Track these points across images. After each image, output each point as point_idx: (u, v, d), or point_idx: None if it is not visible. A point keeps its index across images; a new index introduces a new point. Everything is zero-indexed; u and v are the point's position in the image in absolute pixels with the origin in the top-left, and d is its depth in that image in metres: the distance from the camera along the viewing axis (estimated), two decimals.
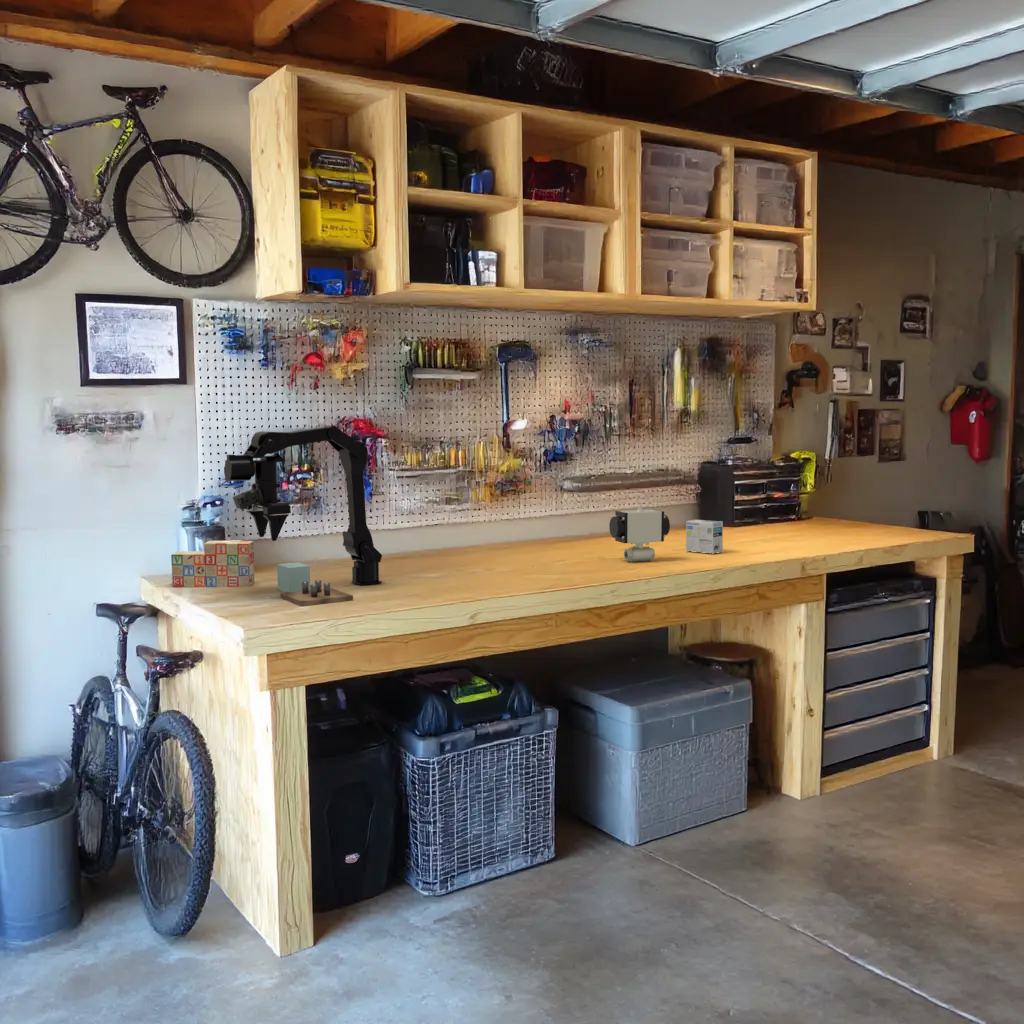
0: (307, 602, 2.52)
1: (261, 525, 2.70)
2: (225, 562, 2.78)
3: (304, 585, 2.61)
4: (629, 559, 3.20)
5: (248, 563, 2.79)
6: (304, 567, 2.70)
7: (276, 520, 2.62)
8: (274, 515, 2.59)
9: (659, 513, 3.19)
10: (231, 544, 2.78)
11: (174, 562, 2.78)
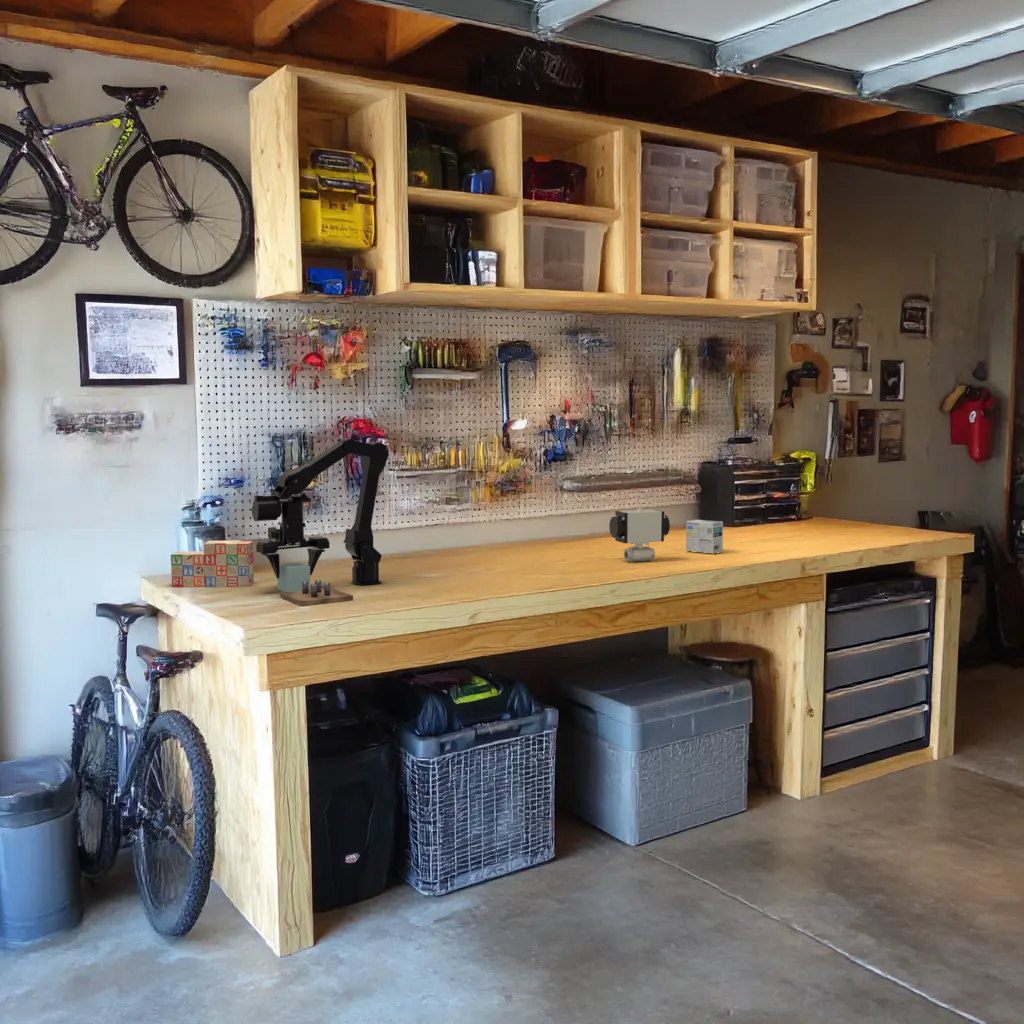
0: (307, 602, 2.52)
1: (310, 563, 2.75)
2: (224, 562, 2.79)
3: (304, 585, 2.61)
4: (629, 559, 3.20)
5: (247, 563, 2.79)
6: (304, 567, 2.70)
7: (273, 559, 2.69)
8: None
9: (659, 513, 3.19)
10: (230, 544, 2.78)
11: (173, 562, 2.78)
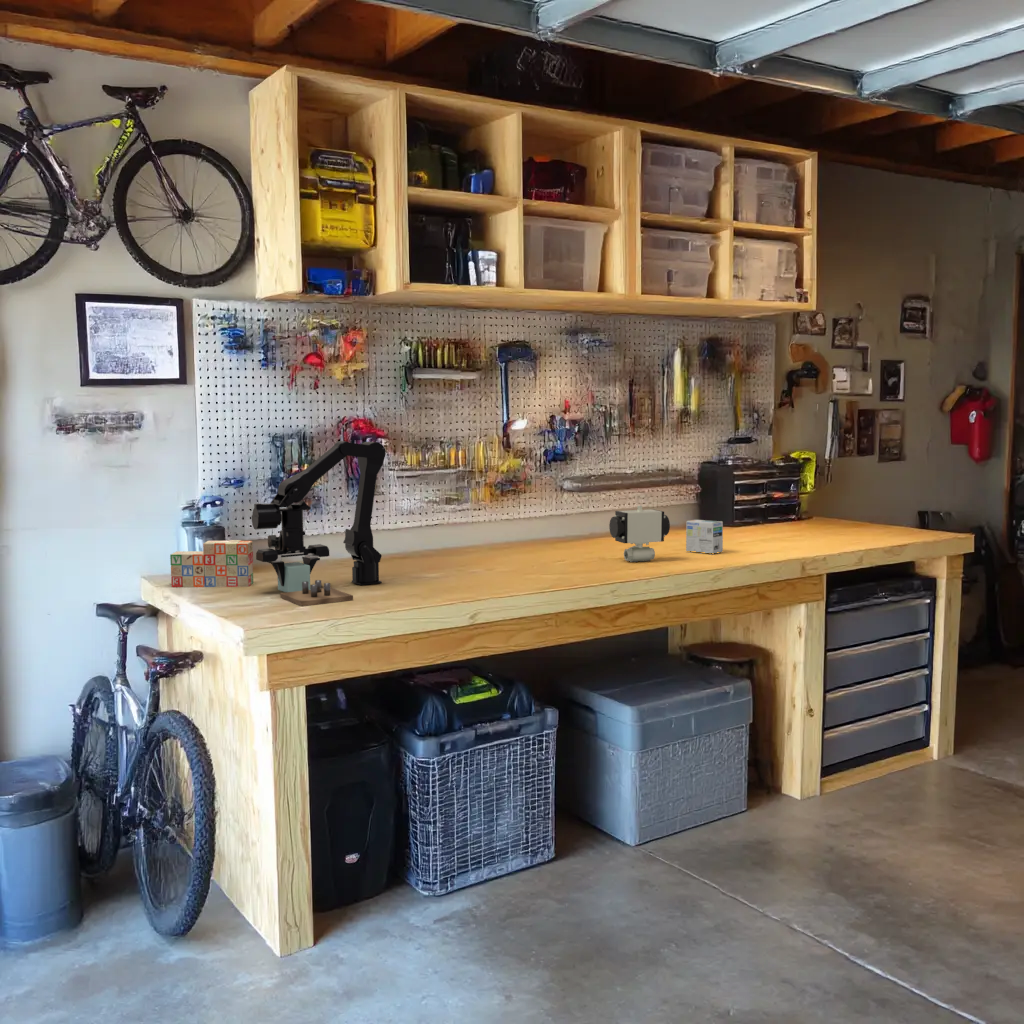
0: (307, 602, 2.52)
1: None
2: (224, 562, 2.79)
3: (304, 585, 2.61)
4: (629, 559, 3.20)
5: (247, 563, 2.79)
6: (304, 567, 2.70)
7: (278, 566, 2.70)
8: None
9: (659, 513, 3.19)
10: (230, 544, 2.78)
11: (173, 562, 2.78)
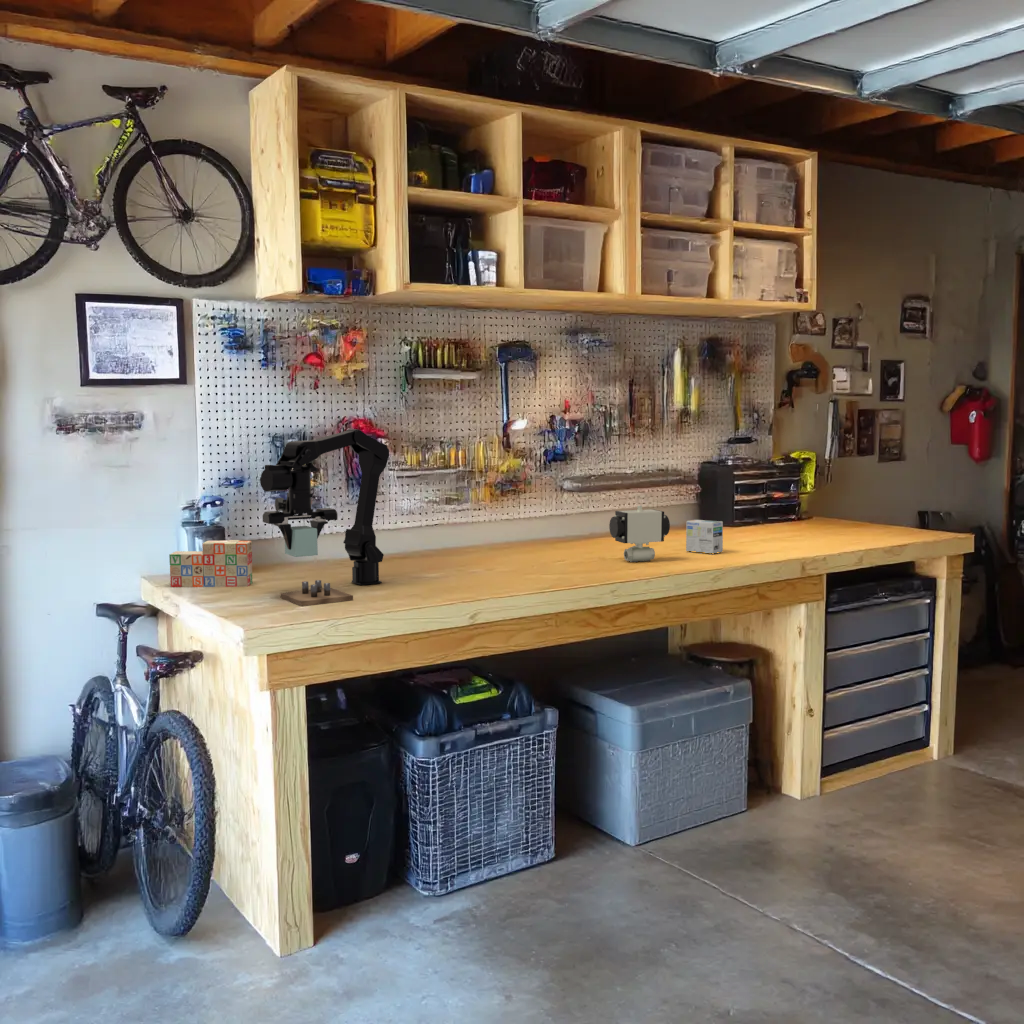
0: (307, 602, 2.52)
1: None
2: (223, 562, 2.79)
3: (304, 585, 2.61)
4: (629, 559, 3.20)
5: (246, 563, 2.79)
6: (311, 530, 2.64)
7: (285, 529, 2.64)
8: (275, 523, 2.63)
9: (659, 513, 3.19)
10: (229, 544, 2.78)
11: (172, 562, 2.78)
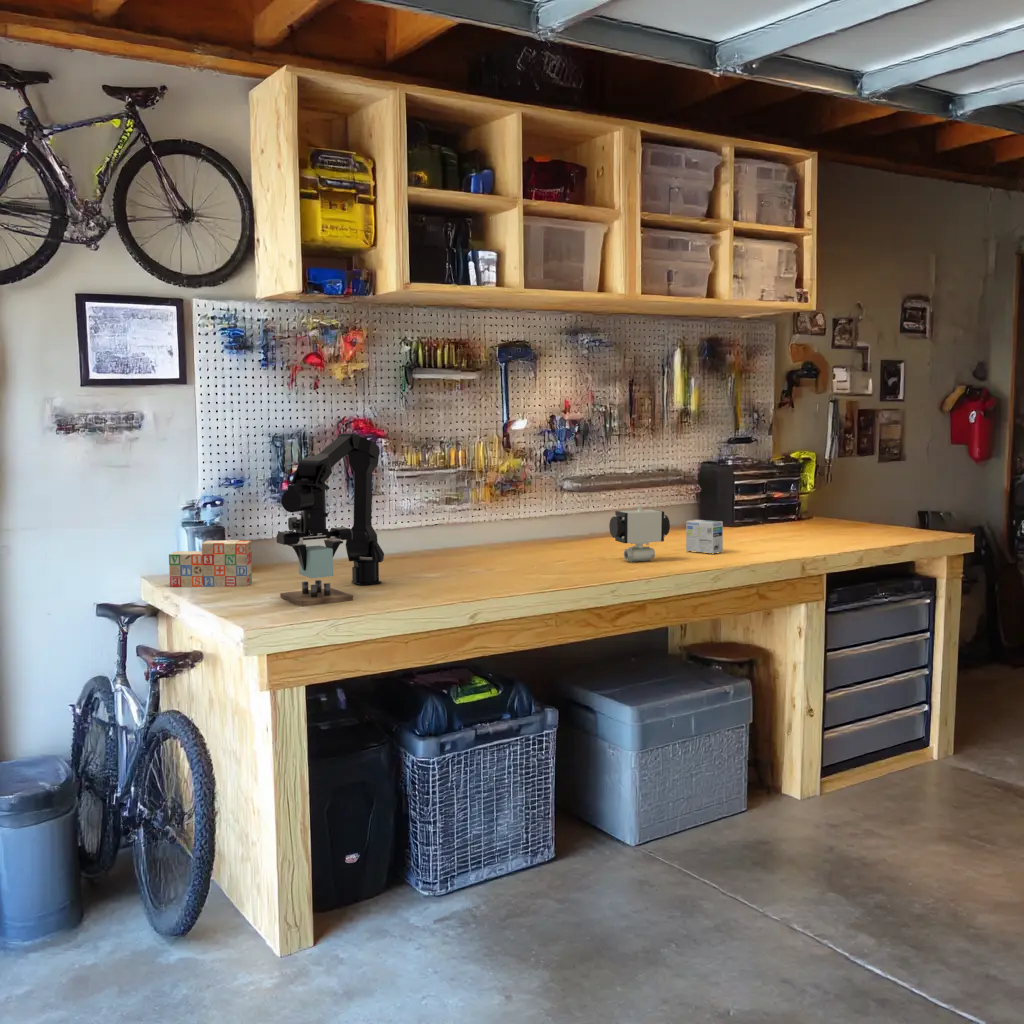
0: (307, 602, 2.52)
1: None
2: (223, 562, 2.79)
3: (304, 585, 2.61)
4: (629, 559, 3.20)
5: (246, 563, 2.79)
6: (327, 550, 2.57)
7: None
8: None
9: (659, 513, 3.19)
10: (229, 544, 2.78)
11: (171, 562, 2.78)
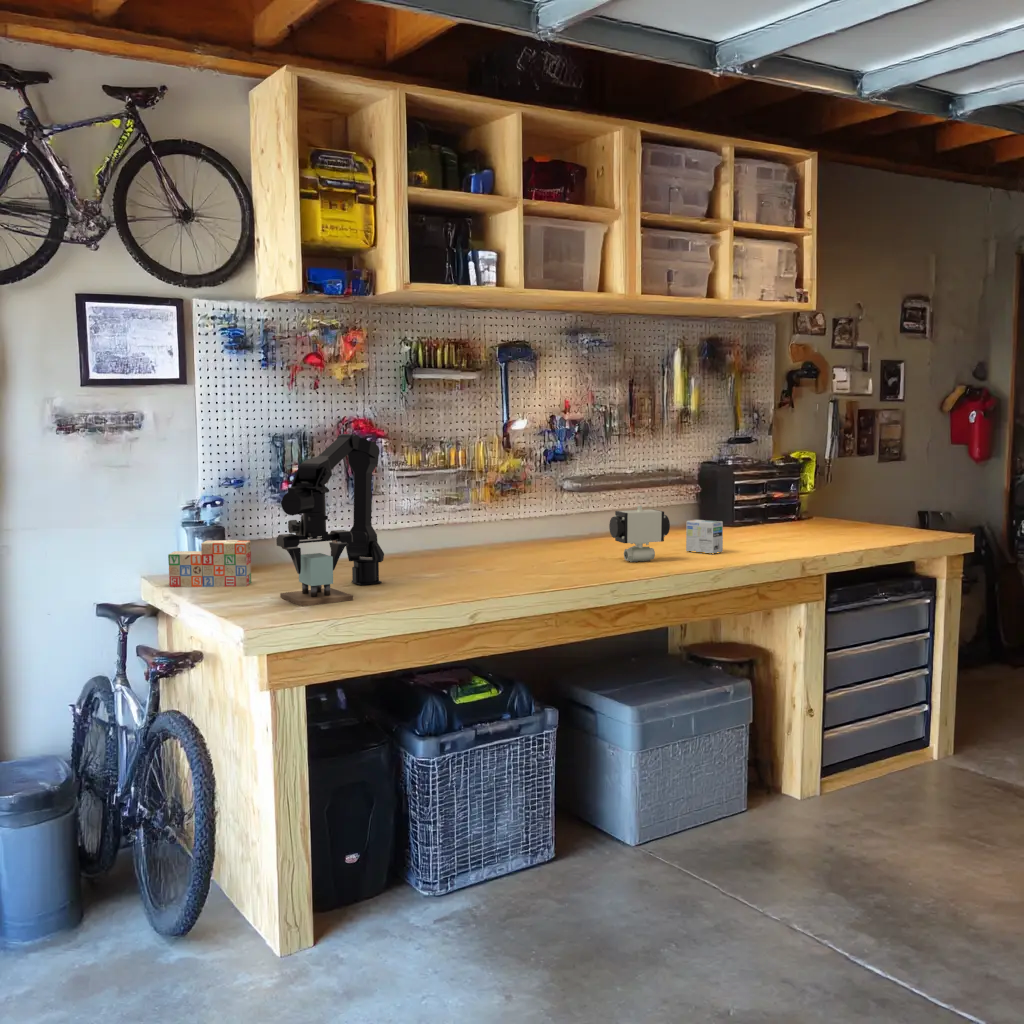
0: (307, 602, 2.52)
1: None
2: (222, 562, 2.79)
3: (304, 585, 2.61)
4: (629, 559, 3.20)
5: (245, 563, 2.79)
6: (327, 558, 2.57)
7: (294, 553, 2.56)
8: (283, 547, 2.56)
9: (659, 513, 3.19)
10: (228, 544, 2.79)
11: (171, 562, 2.78)
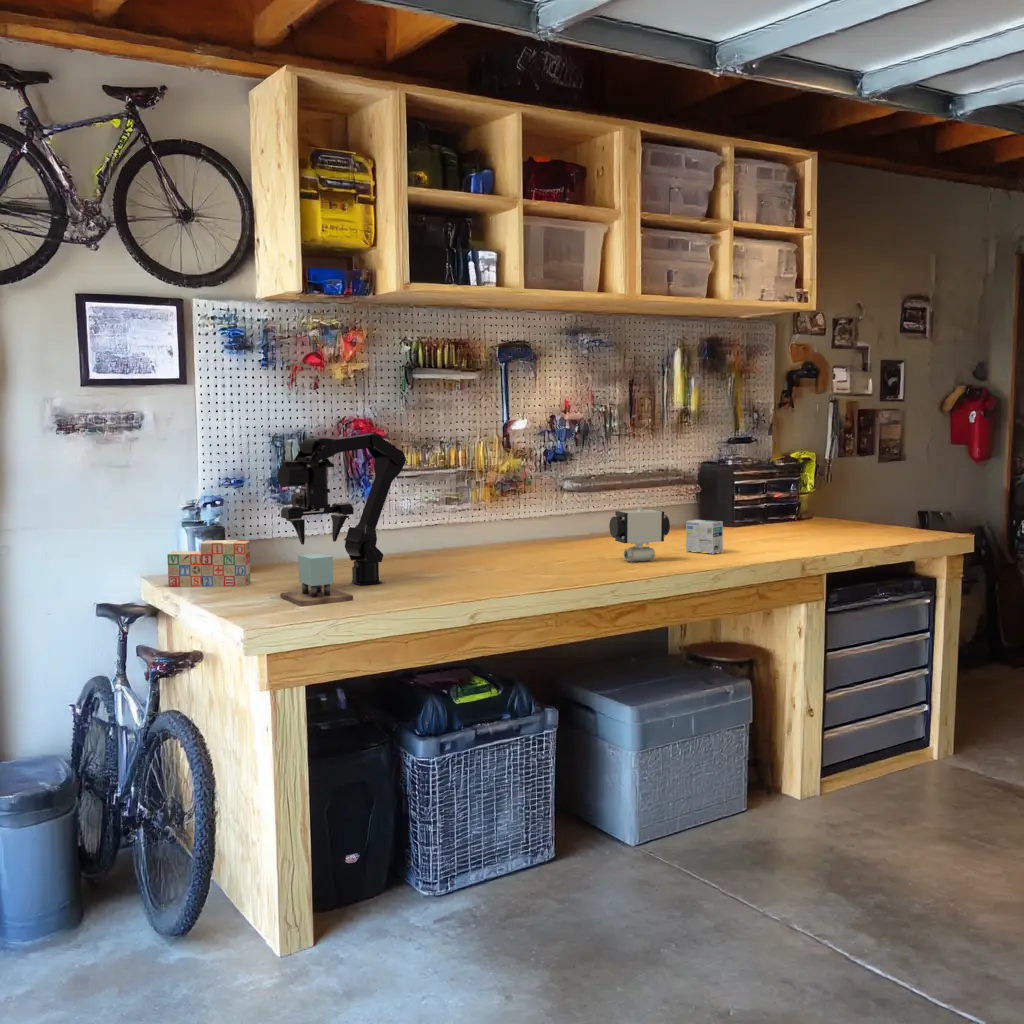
0: (307, 602, 2.52)
1: (334, 530, 2.74)
2: (221, 561, 2.79)
3: (304, 585, 2.61)
4: (629, 559, 3.20)
5: (244, 563, 2.79)
6: (327, 558, 2.57)
7: (298, 525, 2.68)
8: (288, 519, 2.67)
9: (659, 513, 3.19)
10: (227, 544, 2.79)
11: (170, 562, 2.78)
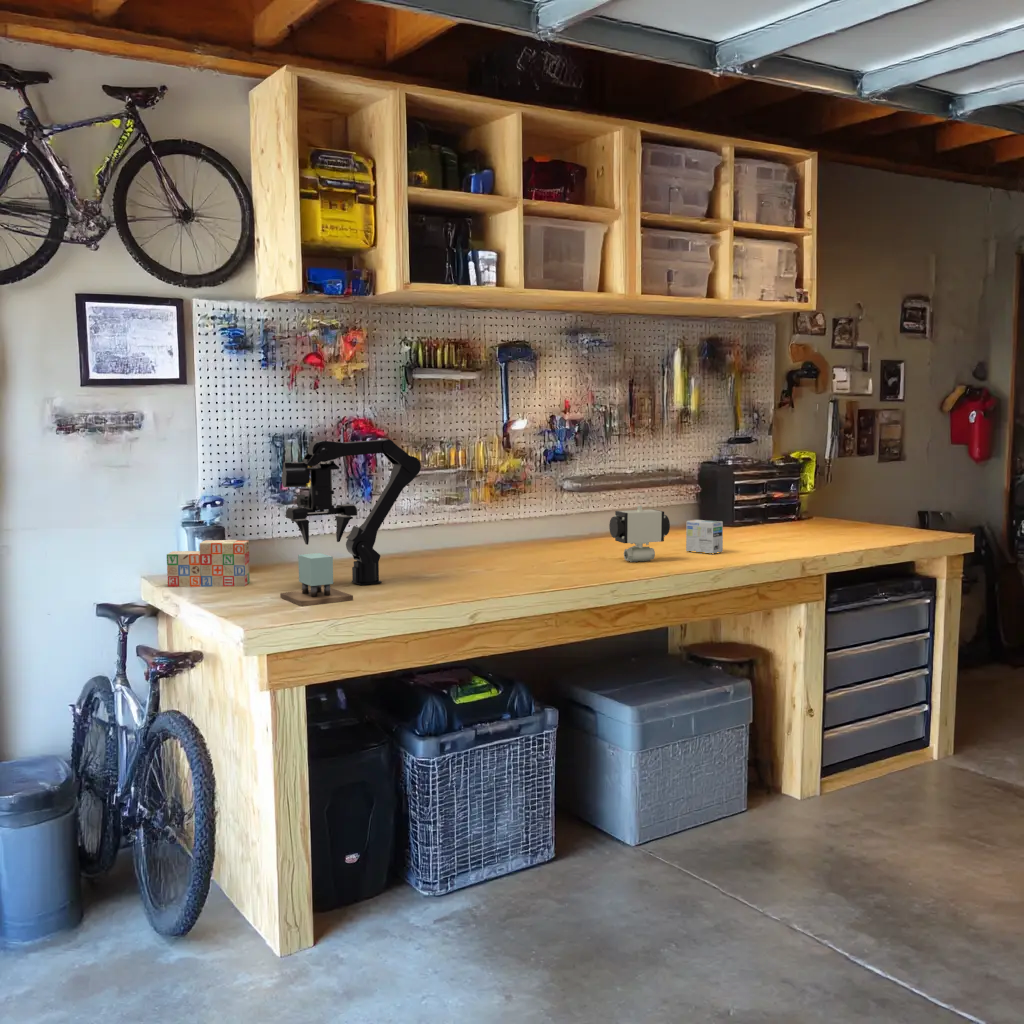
0: (307, 602, 2.52)
1: (338, 530, 2.80)
2: (220, 561, 2.79)
3: (304, 585, 2.61)
4: (629, 559, 3.20)
5: (244, 563, 2.80)
6: (327, 558, 2.57)
7: None
8: (293, 519, 2.73)
9: (659, 513, 3.19)
10: (227, 544, 2.79)
11: (169, 562, 2.79)
